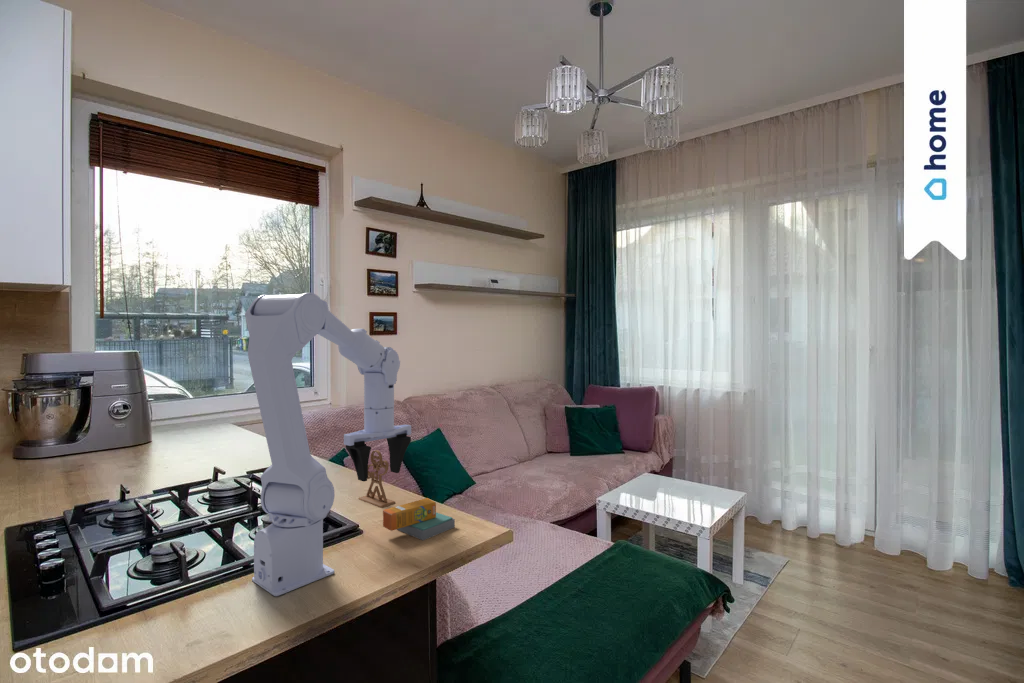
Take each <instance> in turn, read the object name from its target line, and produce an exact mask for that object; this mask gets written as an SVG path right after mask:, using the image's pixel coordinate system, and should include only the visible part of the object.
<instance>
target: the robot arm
mask: <svg viewBox="0 0 1024 683" xmlns="http://www.w3.org/2000/svg"><path fill="white" fill-rule="evenodd" d="M244 316H245V321H246V326H247V331H248V334H249V337H248V349H247V357H248V362H249V368H250V371H251V376H252V380H253V385H254V389H255V394H256V398H257V404H258V406H259V408H258V409H259V412H260V416H261V421H262V424H263V429H264V434H265V439H266V443H267V447H268V452H269V456H270V461H271V465H269V466H268V467H267V468H266V469H265V470H264V471H263V473H262V474H261V475H260V481H261V492H260V506H261V508H262V510H263V511H264V512H265V513H266V514H268V521H269V522H272V523H270V525H268V526H266V527H264V528H262V529H260V530H258V531H256V532H255V534H254V539H253V576H252V578H251V581H252V582H253V583H255V584H257V586H259V587H261V588H262V589H263V590H265V591H266V592H267V593H269V594H270V595H272V596H274V597H279V596H282V595H284V594H286V593H289V592H291V591H294V590H296V589H298V588H301V587H304V586H307V585H308V584H311V583H314V582H316V581H318V580H321V579H324V578H326V577H328V576H332V575H333V574H335V569H334V568H332V567H330V566H328V565H326V564H325V563H324V529H323V528H324V522H323V521H324V519H325V518H327V517H328V514H329V513H330V511H331V509H332V508H333V505H334V501H335V487H334V484H333V483H332V481H331V480H330V479H329V477H328V473H327V469H326V467H324V466H323V464H322V463H320V462H319V461H318V460H317V459H315V458H314V457H313V456H312V454H311V450H310V446H309V441H308V440H309V439H308V436H307V430H306V426H305V425H306V424H305V421H304V415H303V410H302V405H301V401H300V396H299V390H298V386H297V385H298V384H297V382H296V375H295V370H294V365H293V359H294V356H295V355H296V354H297V352H299V351H301V350H303V349H304V348H305V347H306V346H307V344H309V343H310V341H312V340H313V339H314V337H316V336H317V335H319V336H321V337H323V338H324V339H326V340H328V341H330V342H331V343H334V344H335V345H337V346H338V347H337V348H338V352H339V353H340V355H341V356H342V357H344V358H345V359H347V360H348V361H351V363H353V364H354V365H356V367H357V369H358V372H359V374H361V375H363V379H364V380H363V384H364V385H363V390H364V393H363V398H364V399H363V400H364V402H363V404H364V405H363V407H364V408H363V414H364V415H363V419H364V420H363V426H364V427H363V429H361V430H358V431H354V432H350V433H349V432H348V433H344V434H343V445H344V446H345V449H346V451H347V452H348V455H349V456H350V458H351V460H352V462H353V465H354V468H355V471H356V476H357V480H358V481H361V482H367V481H368V479H367V478H368V476H369V475H368V471H369V469H368V465H369V460H370V456H371V452H372V451H371V450H372V446H369V445H367V443H368V442H374V441H379V440H384V439H386V441H387V447H388V452H389V469H390V472H391V473H395V474H399V473H400V471H401V467H402V463H403V459H404V456H405V453H406V452H407V449H408V447H409V446H410V443H411V442H412V438H411V435H412V424H411V425H410V424H399V425H397V424H396V425H395V384H396V383H397V380H398V372H399V370H400V367H401V360H400V357H399V354H398V352H397V351H396V350H394V348H393V347H390V346H389V347H388V346H383V345H382V344H381V343H380V341H379V340H377V339H374V338H373V337H371V336H370V335H369V334H367V332H368V331H367V330H366V329H365V328H352V329H351V328H350V327H349V326H347V324H346V323H344V322H343V321H342V320H341V319H339V318H338V317H337V316H336V315H335V314H334V313H332V312H331V311H330V310H329V305H328V302H327V301H325V300H323V299H321V297H320V296H319V295H317V294H316V293H314V292H313V293H312V292H304V293H297V294H296V293H294V294H293V293H292V294H290V293H289V294H261V295H259V296H256V297H255V299H254V300H253V301H252V303H251V304H250V305H249V307H248V309H247V310H246V311H245V312H244Z"/></svg>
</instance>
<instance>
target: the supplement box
mask: <svg viewBox="0 0 1024 683" xmlns="http://www.w3.org/2000/svg"><path fill="white" fill-rule="evenodd" d="M436 512H437V502H436V501H434V500H432V499H430V498H428V497H426V498H422V499H418V500H415V501H411V502H407V503H403V504H400V505H397V506H392V507H388V508H385V509H383V510H382V518H383V520H382V527H384V528H385V529H386V530H388V531H392V532H393V531H395V530H397V529H399V528H403V527H406V526H410V525H413V524H416V523H419V522H423V521H426V520H429V519H433V518H436Z"/></svg>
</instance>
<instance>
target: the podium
mask: <svg viewBox="0 0 1024 683" xmlns="http://www.w3.org/2000/svg"><path fill="white" fill-rule="evenodd" d="M455 521H456V520H455V518H453V517H451V516H448V515H446V514H443V513H440V512H437V511H436V518H433V519H429V520H426V521H423V522H419V523H416V524H413V525H410V526H406V527H403V528H399V529H396V530H397V531H399V532H402V533H404V534H406V535H409V536H412V537H414V538H417V539H419V540H421V541H425V540H427V539H430V538H432V537H435V536H437V535H439V534H442V533H444V532H446V531H450V530H451V529H454V528H455V527H456V525H455V524H456V523H455Z"/></svg>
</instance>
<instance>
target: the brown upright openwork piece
mask: <svg viewBox="0 0 1024 683" xmlns="http://www.w3.org/2000/svg"><path fill="white" fill-rule="evenodd" d="M375 453H377V455H378V456H377V455H375ZM377 460H378V461H377ZM370 463H371V464H368V478H367V480H369V479H371V480H370V481H371V482H370V484H369V487H368V490H367V493H366V495H364V496H360V497H358V500H360V501H362V502H364V503H367V504H369V505H372V506H374V507H378V508H381V509H383V508H386V507H389V506H392V505H395V504H396V501H395V500H392V499H388V498H387V495H386V493H385V490H384V489H385V488H384V486H383V483H382V482H383V481H382V480H383V478H382V476H385V475H386V474H387V473H388V471H389V468H390V463H389V462H388V461H387V460H383V455H382V453H381V451H380V450H378V449H377V450H373V451H371V452H370ZM370 467H372V469H373V471H369V468H370ZM381 468H383V469H384V472H382V473H379V471H380V470H381ZM374 484H377V485H375V487H374V489H373V486H374ZM378 485H379V486H378ZM372 489H373V490H372Z"/></svg>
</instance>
